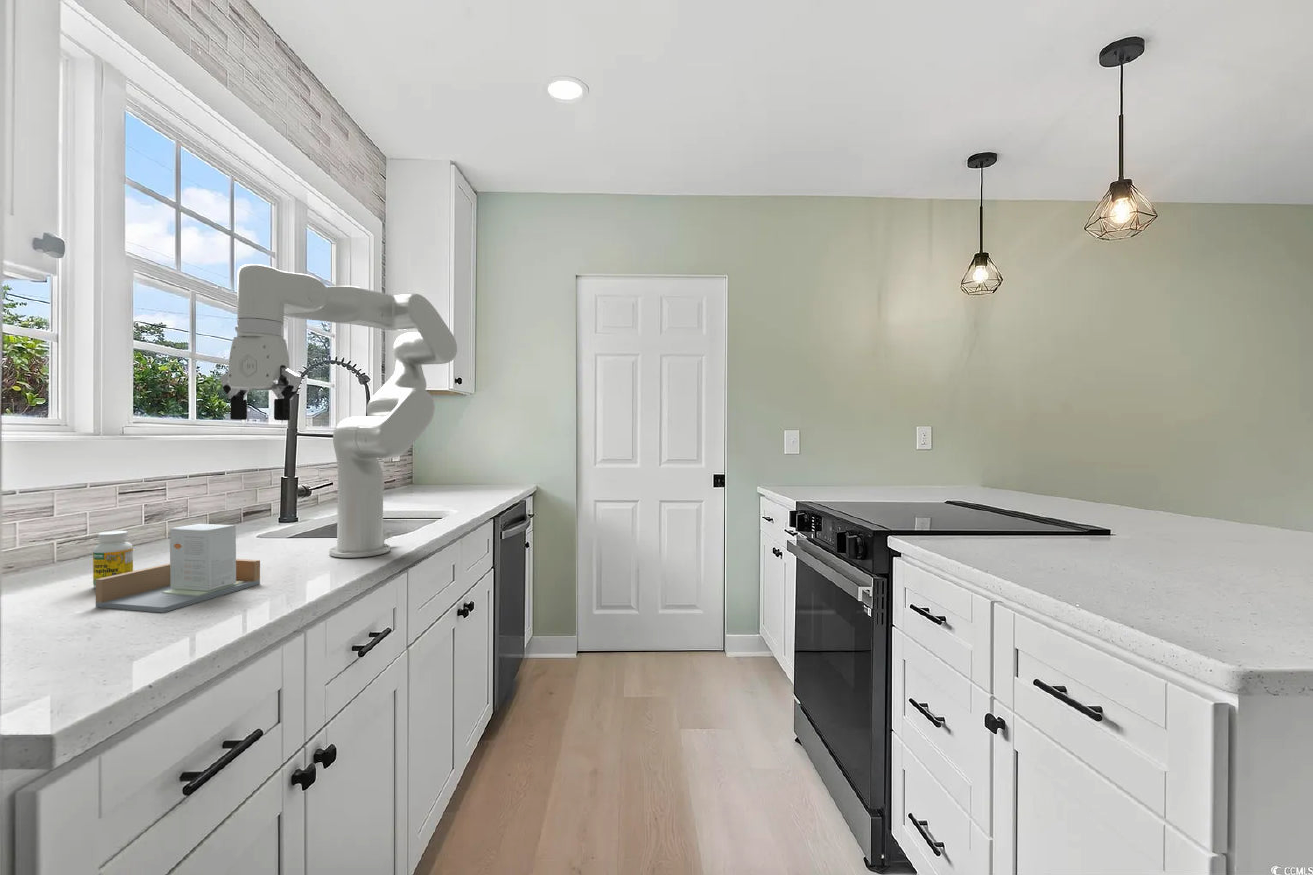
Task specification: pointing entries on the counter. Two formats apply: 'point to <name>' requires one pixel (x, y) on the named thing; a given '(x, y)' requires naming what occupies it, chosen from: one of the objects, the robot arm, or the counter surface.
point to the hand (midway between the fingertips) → (260, 419)
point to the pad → (196, 592)
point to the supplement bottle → (112, 555)
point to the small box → (202, 556)
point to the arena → (162, 588)
